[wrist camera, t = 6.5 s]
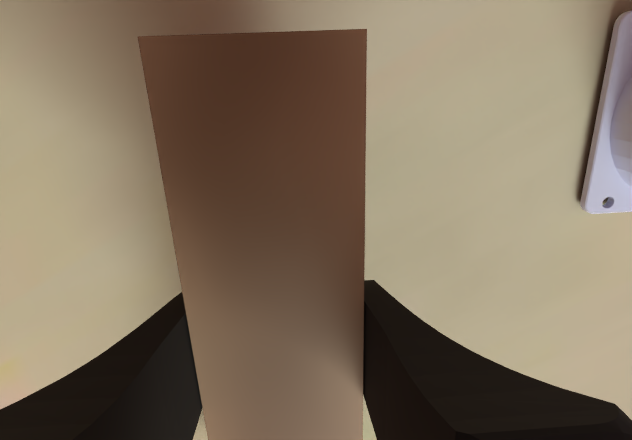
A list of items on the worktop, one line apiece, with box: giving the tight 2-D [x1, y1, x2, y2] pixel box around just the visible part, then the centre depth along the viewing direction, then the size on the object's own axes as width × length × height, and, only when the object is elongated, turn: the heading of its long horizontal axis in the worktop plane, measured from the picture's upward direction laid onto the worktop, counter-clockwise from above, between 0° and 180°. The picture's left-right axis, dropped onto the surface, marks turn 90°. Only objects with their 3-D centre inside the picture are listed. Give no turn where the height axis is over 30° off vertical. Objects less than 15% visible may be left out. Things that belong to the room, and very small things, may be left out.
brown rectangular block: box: [138, 29, 367, 440], centre depth 12 cm, size 5×18×4 cm, turn 2°
